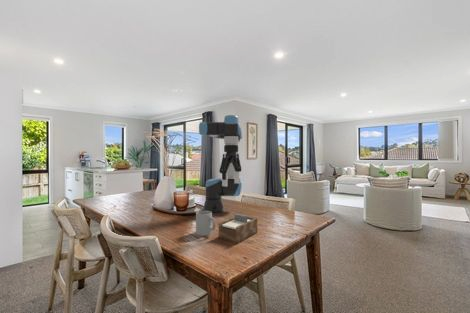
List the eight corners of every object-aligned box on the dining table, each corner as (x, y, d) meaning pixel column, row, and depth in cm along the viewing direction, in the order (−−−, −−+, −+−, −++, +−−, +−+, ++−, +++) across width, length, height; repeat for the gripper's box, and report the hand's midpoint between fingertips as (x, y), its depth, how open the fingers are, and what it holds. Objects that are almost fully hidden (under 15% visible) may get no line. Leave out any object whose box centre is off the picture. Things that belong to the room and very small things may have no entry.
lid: (239, 218, 126) (239, 211, 126) (252, 221, 121) (253, 214, 121) (222, 226, 113) (222, 218, 113) (236, 229, 108) (236, 221, 108)
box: (238, 228, 129) (238, 215, 129) (257, 232, 122) (257, 218, 122) (218, 238, 114) (218, 223, 114) (238, 243, 107) (238, 227, 107)
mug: (192, 233, 120) (192, 212, 120) (203, 229, 127) (203, 209, 127) (209, 238, 113) (209, 216, 113) (220, 233, 120) (220, 213, 120)
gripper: (235, 145, 134) (235, 181, 134) (212, 143, 112) (212, 187, 112) (247, 145, 131) (247, 182, 131) (225, 143, 109) (225, 188, 109)
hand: (231, 184), depth 122 cm, fingers open, 13 cm apart
